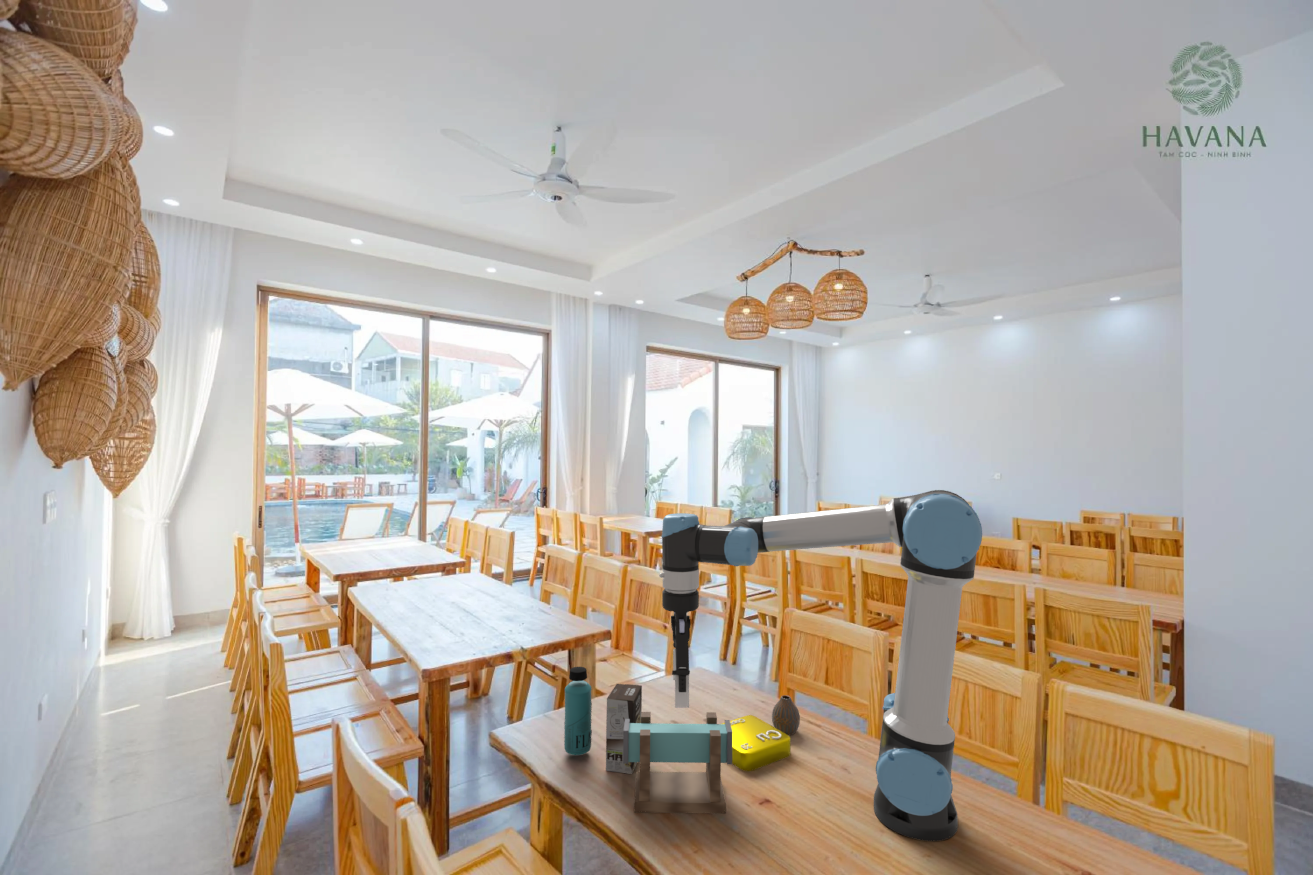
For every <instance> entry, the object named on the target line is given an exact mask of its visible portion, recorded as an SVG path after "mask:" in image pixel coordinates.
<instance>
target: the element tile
mask: <svg viewBox="0 0 1313 875" xmlns="http://www.w3.org/2000/svg"><path fill="white" fill-rule="evenodd" d="M721 724H725V722H722V723H721ZM730 724H731V728H732V765H734V766H735V767H736V768H738V769H739V770H741V771H744V772H752V771H755V770H758V769H761V768H763V767H766V766H768V765H770V764H774V763H775V762H778V761H781V760H784V759H786V758H788V757H790V756H791V746H792V745H791V742H792V741H791V739H792V738H791V735H789V736H788V735H787V734H785V733H784V732H782V731H780V730H778V729H777V728H775V727H774V726H773V725H771V724H769V723H768V722H766V721H764V720H762V719H761V718H759V717H757V716H755V715H752V714H748V715H747V714H746V715H744V716H741V717H738V718H735V719H731V720H730Z"/></svg>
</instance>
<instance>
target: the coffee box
mask: <svg viewBox="0 0 1313 875" xmlns="http://www.w3.org/2000/svg"><path fill="white" fill-rule="evenodd" d="M642 688H643V685H639V684H627V683H626V684H624V683H622V684H621V683H616V684H615V686H614V687H613V688H612V690H611V692H610V693H609V695H608V696H607V698H606V726H605V727H606V730H605V734H606V735H605V741H606V743H605V771H607V772H614V773H622V774H629V775H632V774H633V773H634V770H635V768H636V766H637V764H638V762H628V764H623V733H624V723H625V719H630V723H641V712H643V711H642V705H643V703H642V702H643V700H642V698H643V690H642Z"/></svg>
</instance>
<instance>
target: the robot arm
mask: <svg viewBox="0 0 1313 875" xmlns="http://www.w3.org/2000/svg"><path fill="white" fill-rule="evenodd" d="M661 532H662V533H661V534H662V535H661V546H662V548H661V549H662V565H661V566H662V572H660V573H659V574H658V575H659V578H662V588H664V589H663V590H662V592H661V593H662V597H661V599H662V601H661V602H662V603H661V605H662V609H663V610H666V611H667V612H673V615H670V626H671V631H672V641H673V642H672V643H673V644H672V646H673V650H672V654H673V656H672V658H673V659H672V660H673V661H672V665H673V666H672V671H671V675H672V679H673V681H674V686H675V687H674V705H675V706H674V708H677V709H678V708H679V709H680V708H682V709H684V708H685V709H686V708H687V709H688V708H690V674H691V671H690V656H689V655H690V653H689V651H690V650H689V649H690V648H689V647H690V646H689V641H690V639H691V634H690V633H691V631H690V630H691V629H690V628H691V626H692V625H691V624H692V622H691V621H692V620H691V616H690V615H688V614H687V613H688V612H693V611H696V610H698V608H699V604H700V602H699V601H700V598H699V595H700V592H699V590H698V589H699V587H700V567H699V563H708V564H715V565H727V566H734V567H740V566H742V567H743V566H744V567H747V566H748V567H751V566H753V565H754V564H755V563H756V560H757V558H758V553H759V554H760V553H769V552H779V551H780V552H781V551H782V552H783V551H794V550H806V549H807V550H808V549H820V548H822V549H823V548H834V547H849V546H860V545H873V544H875V545H876V544H888V543H893V544H895V545H896V546H898V547H899V548H902V549H901V556H900V568H902V570H903V571H904V572H905V573H906V574H907V584H906V593H905V594H906V595H905V602H904V603H905V604H904V612H903V620H902V621H903V622H902V630H901V639H900V646H899V658H898V663H897V664H898V665H897V673H896V683H895V692H893V693H889V694H887V695H885V697H884V699H883V706H882V710H883V716H882V717H883V718H882V725H881V731H880V732H881V733H880V740H879V741H880V743H879V751H878V758H877V761H876V762H875V763H876V764H875V775H876V779H877V786H876V788H875V791H874V795H873V812H874V814H875V816H876V818H878V820H879V821H880V822H881V823H882V824H883V825H884V826H886V827H887V828H888V829H890V830H891V831H894V832H896V833H897V834H899V835H902V836H904V837H907V838H910V839H914V840H917V841H923V842H939V841H941V842H942V841H946V840H948V839H950V838H952V837H954V836H955V834H956V833H957V832H958V828H959V826H958V825H959V824H958V822H959V821H958V820H959V817H958V812H957V808H956V806H955V805H956V804H955V802H954V799H953V796H952V793H953V789H954V787H953V786H954V785H953V782H952V769H953V768H952V766H953V758H954V749H955V741H956V740H955V739H956V733H955V731H954V729H953V727H951V725H950V724H949V722H950V718H949V705H950V697H951V689H952V680H953V679H952V678H953V672H954V663H955V653H956V646H957V645H956V644H957V637H958V636H957V635H958V627H959V619H960V611H961V610H960V609H961V602H962V601H961V600H962V594H963V587H964V586H965V585H967V584H968V583H970V582H971V581H973V580H974V578H975V571H976V562H977V553H978V551H979V550H980V546H981V545H982V540H983V527H982V523H981V519H980V518H979V516H978V514H977V512H976V511H975V510H974V508H973V507H972V506H971V505H970V504H969V502H968V501H967V500H966V499H964V497H962V496H961V495H958V494H957V493H954V492H953V491H949V490H944V489H935V490H929V491H926V492H921V493H918V494H914V495H913V494H912V495H908V496H902V497H892V498H891V499H890V500H889V501H888V503H885V504H884V503H883V504H875V505H866V506H857V507H847V508H837V509H836V508H835V509H828V510H818V511H810V512H809V511H807V512H798V513H788V514H782V515H781V514H780V515H769V516H768V515H767V516H764V517H763V516H762V517H760V516H759V517H751V516H747V517H746V516H745V517H741V518H738V519H737V520H735V521H733V522H730V523H728V524H726V525H706V524H700V521H699V516H698V515H697V514H695V513H683V512H682V513H679V512H678V513H669V514H667V515H665V516H664V517H663V519H662V531H661Z"/></svg>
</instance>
